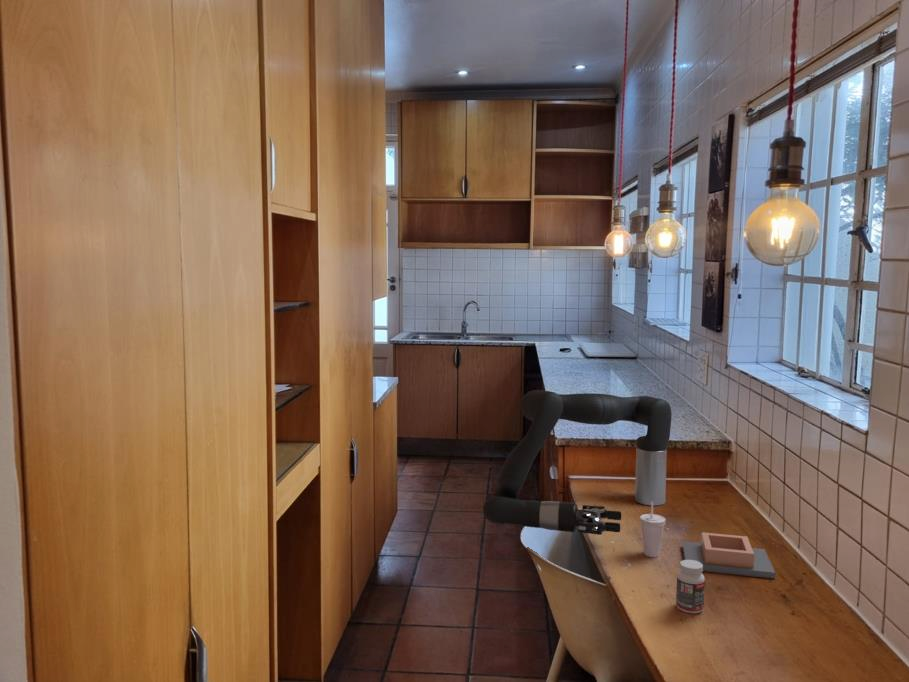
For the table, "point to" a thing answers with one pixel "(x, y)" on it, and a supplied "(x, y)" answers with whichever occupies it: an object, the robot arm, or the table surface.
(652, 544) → the smoothie
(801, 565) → the table surface
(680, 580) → the pill bottle
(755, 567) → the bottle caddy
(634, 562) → the table surface
